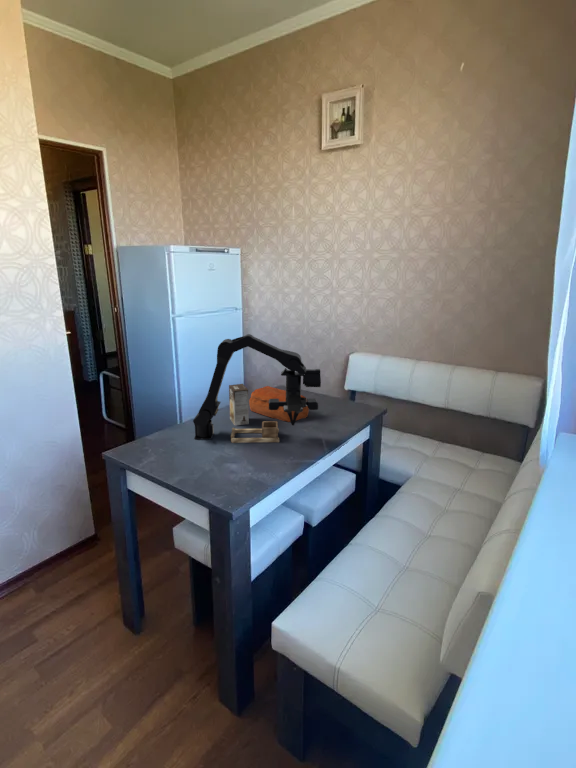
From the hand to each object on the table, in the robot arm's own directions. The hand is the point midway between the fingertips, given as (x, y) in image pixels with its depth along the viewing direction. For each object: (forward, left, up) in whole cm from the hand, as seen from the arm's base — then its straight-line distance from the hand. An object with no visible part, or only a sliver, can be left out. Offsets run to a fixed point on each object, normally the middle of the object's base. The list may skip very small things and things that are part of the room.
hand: (292, 425), depth 164 cm
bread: (-5, +29, -6) cm, 30 cm away
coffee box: (-22, +17, -6) cm, 28 cm away
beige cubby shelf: (-14, 0, -6) cm, 15 cm away
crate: (-9, 0, -5) cm, 10 cm away
